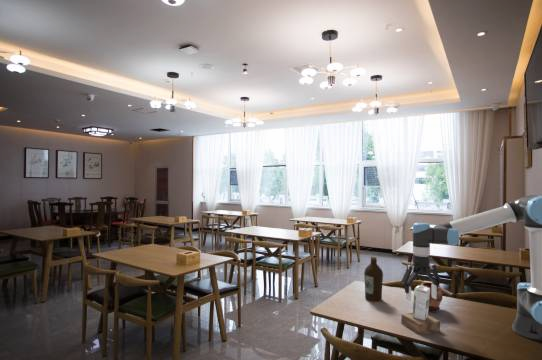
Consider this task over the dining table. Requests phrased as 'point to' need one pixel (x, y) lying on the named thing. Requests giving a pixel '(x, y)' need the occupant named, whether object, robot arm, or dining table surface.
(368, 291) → the olive oil
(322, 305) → the dining table surface
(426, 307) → the syrup box
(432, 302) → the decorative planter
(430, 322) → the walnut block
